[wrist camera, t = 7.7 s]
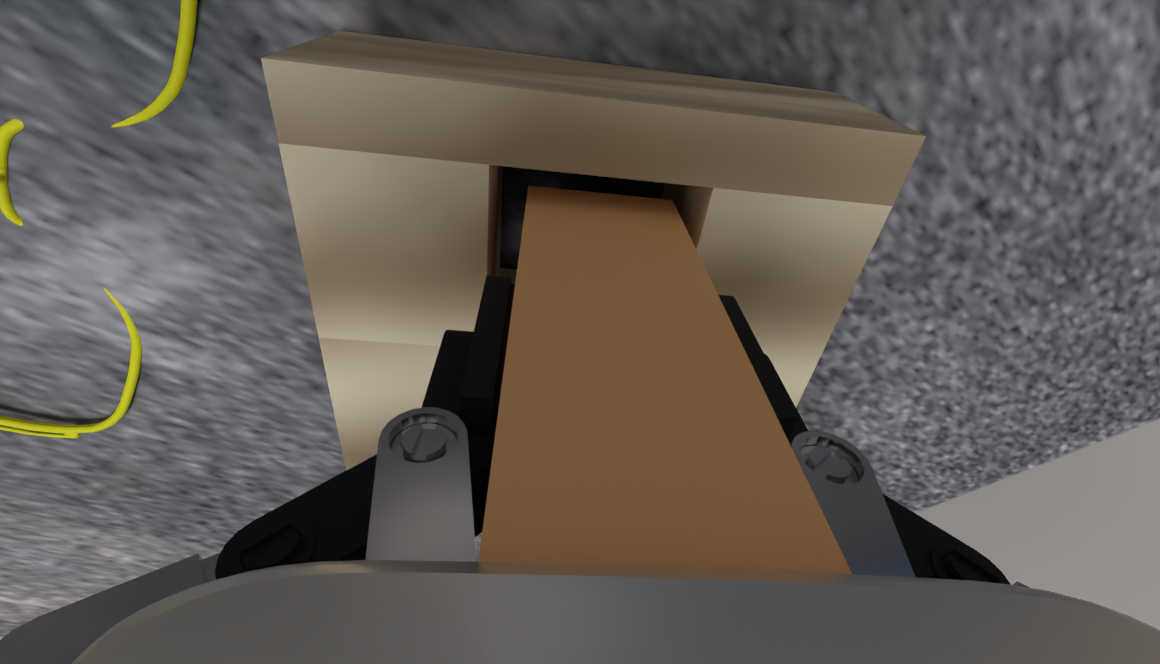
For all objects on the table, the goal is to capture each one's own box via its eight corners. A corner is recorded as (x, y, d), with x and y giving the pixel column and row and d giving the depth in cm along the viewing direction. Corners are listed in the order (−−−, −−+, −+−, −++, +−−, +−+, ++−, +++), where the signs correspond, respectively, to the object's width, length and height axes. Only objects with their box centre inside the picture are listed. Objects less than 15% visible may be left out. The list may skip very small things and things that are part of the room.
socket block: (339, 30, 15) (260, 58, 11) (835, 91, 17) (926, 135, 13) (387, 411, 24) (353, 505, 20) (711, 429, 25) (741, 520, 21)
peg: (528, 185, 14) (462, 675, 4) (672, 199, 15) (904, 682, 5) (520, 309, 17) (466, 815, 7) (645, 319, 17) (767, 813, 7)
